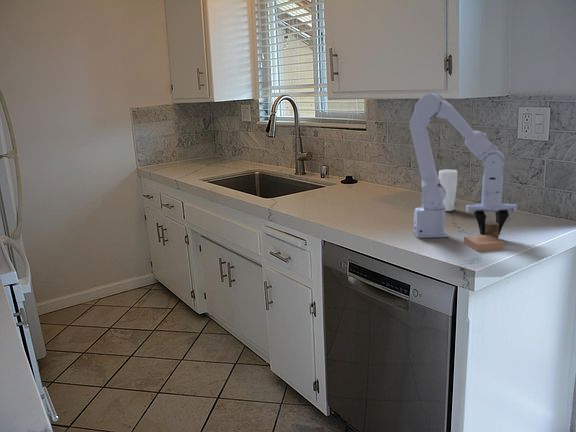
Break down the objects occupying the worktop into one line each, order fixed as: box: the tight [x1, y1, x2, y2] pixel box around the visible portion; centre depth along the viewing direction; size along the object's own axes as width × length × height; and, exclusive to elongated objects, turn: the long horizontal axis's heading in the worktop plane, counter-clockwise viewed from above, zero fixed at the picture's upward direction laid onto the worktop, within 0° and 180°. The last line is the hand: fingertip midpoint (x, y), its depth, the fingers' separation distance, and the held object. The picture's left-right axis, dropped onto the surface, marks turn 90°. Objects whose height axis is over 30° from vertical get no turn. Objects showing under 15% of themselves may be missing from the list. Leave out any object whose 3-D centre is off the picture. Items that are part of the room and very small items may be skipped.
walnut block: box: [484, 220, 500, 239], centre depth 158 cm, size 4×4×5 cm
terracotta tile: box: [463, 234, 504, 252], centre depth 152 cm, size 8×8×2 cm
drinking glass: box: [438, 168, 458, 212], centre depth 194 cm, size 7×7×15 cm
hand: (489, 234), depth 158 cm, fingers closed on walnut block, 4 cm apart
